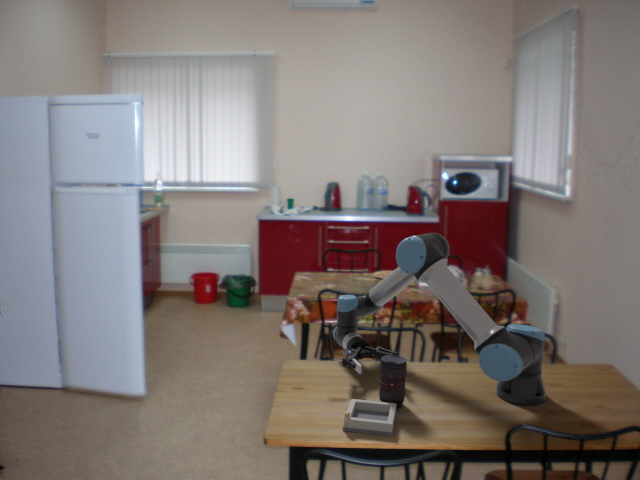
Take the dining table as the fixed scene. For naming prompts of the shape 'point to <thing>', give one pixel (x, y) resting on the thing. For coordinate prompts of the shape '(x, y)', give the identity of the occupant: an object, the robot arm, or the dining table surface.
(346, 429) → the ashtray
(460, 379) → the dining table surface
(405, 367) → the camera lens
